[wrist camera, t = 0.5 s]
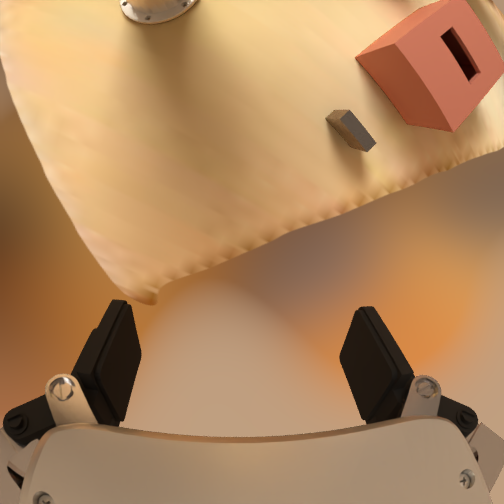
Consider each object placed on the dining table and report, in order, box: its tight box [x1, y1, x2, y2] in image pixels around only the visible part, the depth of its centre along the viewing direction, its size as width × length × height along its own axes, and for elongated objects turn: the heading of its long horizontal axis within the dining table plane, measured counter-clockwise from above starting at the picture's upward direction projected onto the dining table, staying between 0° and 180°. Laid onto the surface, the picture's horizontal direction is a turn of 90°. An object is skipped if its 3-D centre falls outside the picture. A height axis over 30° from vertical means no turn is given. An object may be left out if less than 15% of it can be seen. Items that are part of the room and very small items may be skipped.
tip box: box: [355, 0, 504, 132], centre depth 28 cm, size 14×20×12 cm
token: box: [326, 110, 376, 152], centre depth 36 cm, size 6×2×6 cm, turn 46°
